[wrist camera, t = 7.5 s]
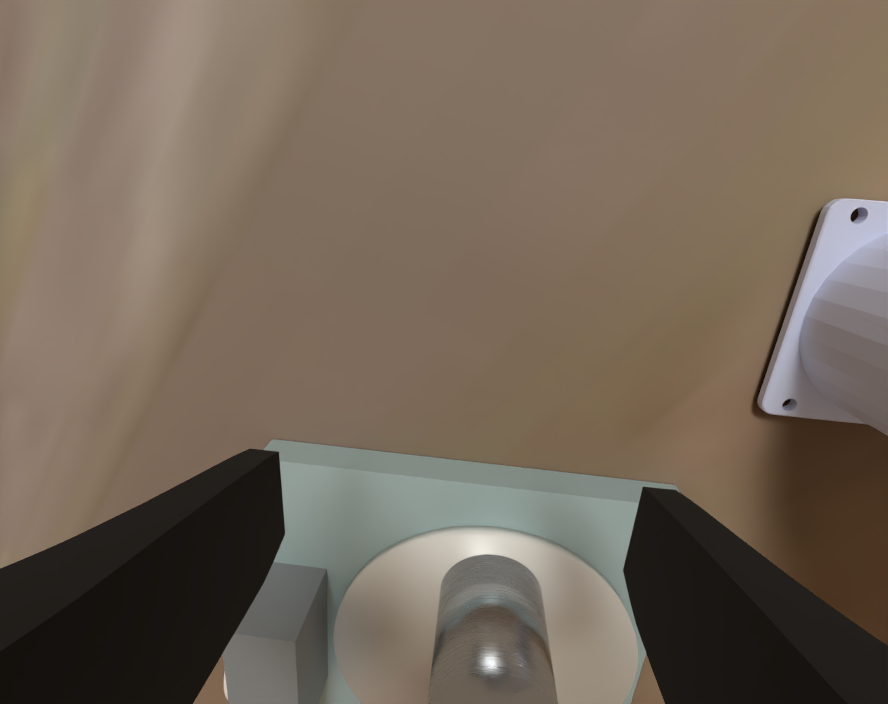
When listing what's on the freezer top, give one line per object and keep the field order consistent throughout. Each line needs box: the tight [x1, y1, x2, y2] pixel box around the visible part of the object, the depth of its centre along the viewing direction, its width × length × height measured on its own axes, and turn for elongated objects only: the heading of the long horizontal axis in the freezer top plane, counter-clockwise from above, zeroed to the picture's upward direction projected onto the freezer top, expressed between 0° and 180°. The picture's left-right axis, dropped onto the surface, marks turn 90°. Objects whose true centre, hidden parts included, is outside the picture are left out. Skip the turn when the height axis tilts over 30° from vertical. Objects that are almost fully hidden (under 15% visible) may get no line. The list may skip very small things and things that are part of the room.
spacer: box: [428, 554, 558, 704], centre depth 17 cm, size 4×4×5 cm
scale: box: [223, 439, 680, 704], centre depth 20 cm, size 18×18×5 cm
